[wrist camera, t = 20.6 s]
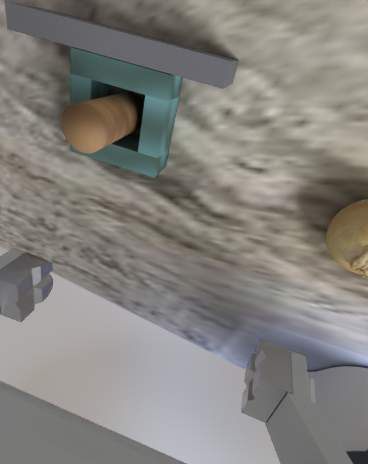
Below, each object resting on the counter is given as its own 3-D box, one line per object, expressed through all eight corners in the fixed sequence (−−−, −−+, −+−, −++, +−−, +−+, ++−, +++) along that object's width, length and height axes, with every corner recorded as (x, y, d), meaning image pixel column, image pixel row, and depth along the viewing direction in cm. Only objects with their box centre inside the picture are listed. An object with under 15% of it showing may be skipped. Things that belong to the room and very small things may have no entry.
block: (165, 166, 35) (154, 177, 32) (89, 142, 36) (70, 150, 33) (183, 73, 30) (171, 75, 26) (93, 48, 31) (70, 47, 27)
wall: (232, 83, 29) (222, 88, 24) (50, 33, 31) (7, 28, 26) (238, 60, 28) (230, 60, 23) (49, 10, 30) (4, 1, 25)
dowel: (146, 133, 34) (103, 158, 26) (113, 124, 34) (62, 146, 26) (150, 96, 32) (106, 110, 23) (116, 87, 32) (60, 98, 24)
